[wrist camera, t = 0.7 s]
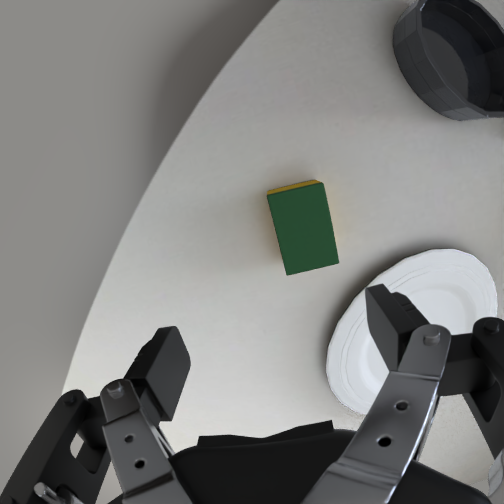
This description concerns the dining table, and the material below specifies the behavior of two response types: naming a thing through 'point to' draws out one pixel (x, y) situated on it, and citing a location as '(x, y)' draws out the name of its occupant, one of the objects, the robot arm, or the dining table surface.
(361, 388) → the plate
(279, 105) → the dining table surface
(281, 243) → the sponge
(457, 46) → the black bowl
